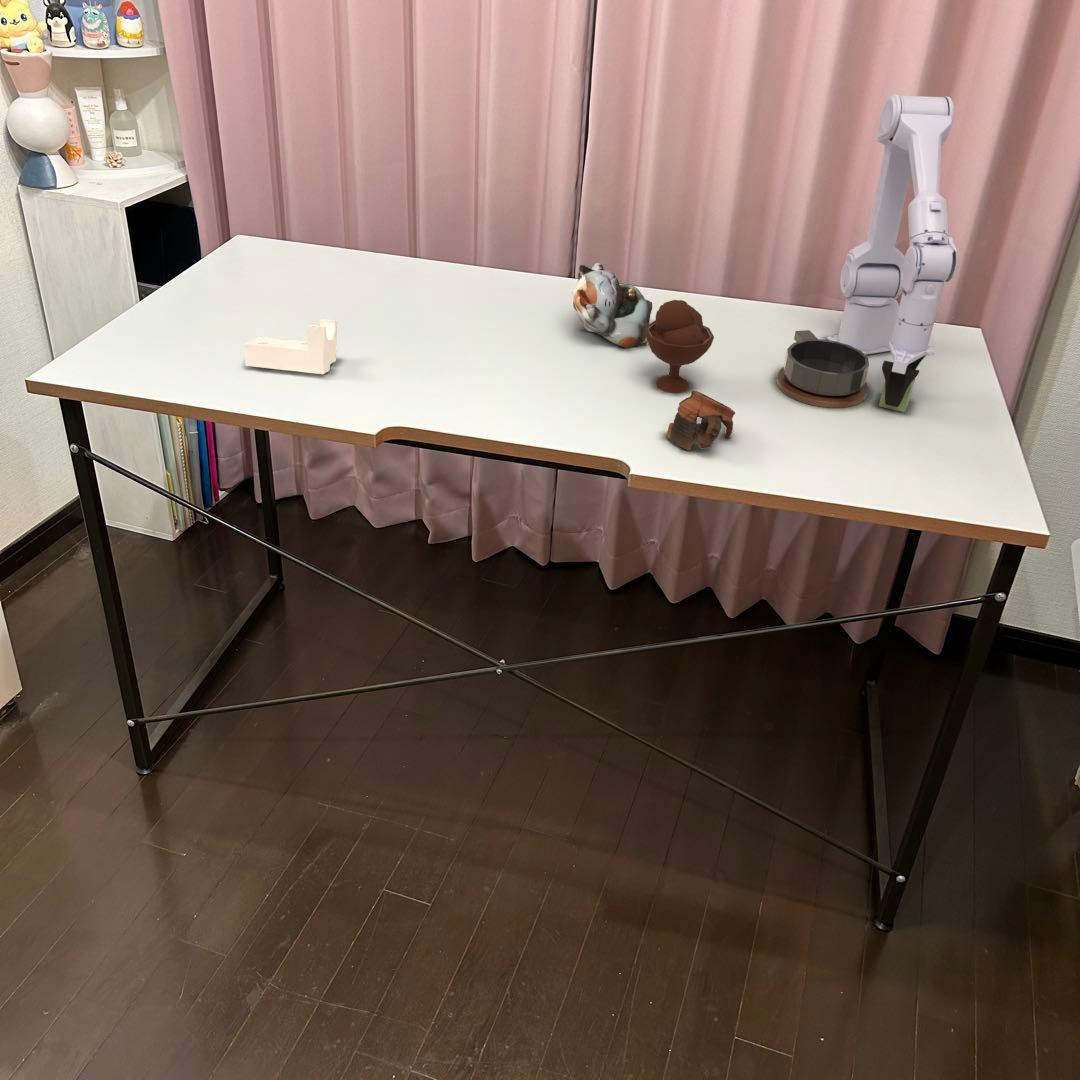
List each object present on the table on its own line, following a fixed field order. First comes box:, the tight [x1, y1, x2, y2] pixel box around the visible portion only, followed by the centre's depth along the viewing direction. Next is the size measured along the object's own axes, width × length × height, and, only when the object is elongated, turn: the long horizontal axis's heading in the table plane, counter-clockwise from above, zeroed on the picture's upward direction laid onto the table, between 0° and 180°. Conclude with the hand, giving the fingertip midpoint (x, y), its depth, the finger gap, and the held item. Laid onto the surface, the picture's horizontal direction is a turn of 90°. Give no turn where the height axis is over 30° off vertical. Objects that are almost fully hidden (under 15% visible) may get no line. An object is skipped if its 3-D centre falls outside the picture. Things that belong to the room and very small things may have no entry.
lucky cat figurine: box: [571, 262, 653, 349], centre depth 200 cm, size 15×12×14 cm
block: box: [878, 378, 916, 413], centre depth 184 cm, size 4×4×5 cm
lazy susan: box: [776, 366, 869, 409], centre depth 190 cm, size 15×15×1 cm
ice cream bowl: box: [645, 299, 715, 394], centre depth 183 cm, size 11×11×15 cm
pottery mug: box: [666, 390, 736, 452], centre depth 171 cm, size 12×10×8 cm
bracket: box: [244, 318, 338, 375], centre depth 185 cm, size 13×7×8 cm, turn 82°
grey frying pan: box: [783, 329, 870, 396], centre depth 189 cm, size 17×13×4 cm
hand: (895, 396), depth 185 cm, fingers open, 6 cm apart
